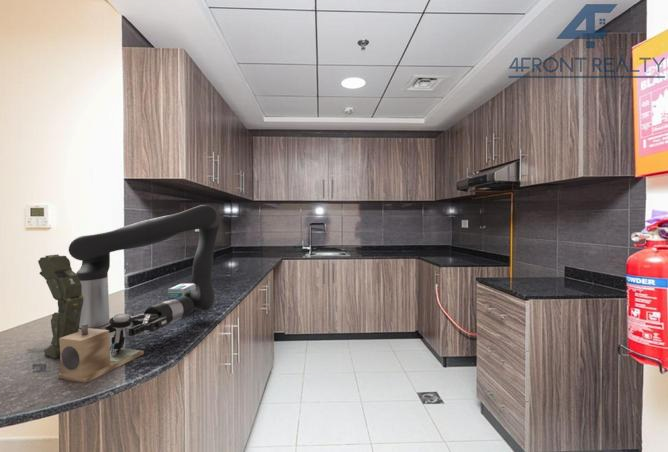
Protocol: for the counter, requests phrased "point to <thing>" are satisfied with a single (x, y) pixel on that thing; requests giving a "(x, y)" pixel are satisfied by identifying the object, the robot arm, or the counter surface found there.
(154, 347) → the counter surface
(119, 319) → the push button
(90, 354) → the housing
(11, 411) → the counter surface
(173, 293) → the light bulb box
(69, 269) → the mechanical leg
